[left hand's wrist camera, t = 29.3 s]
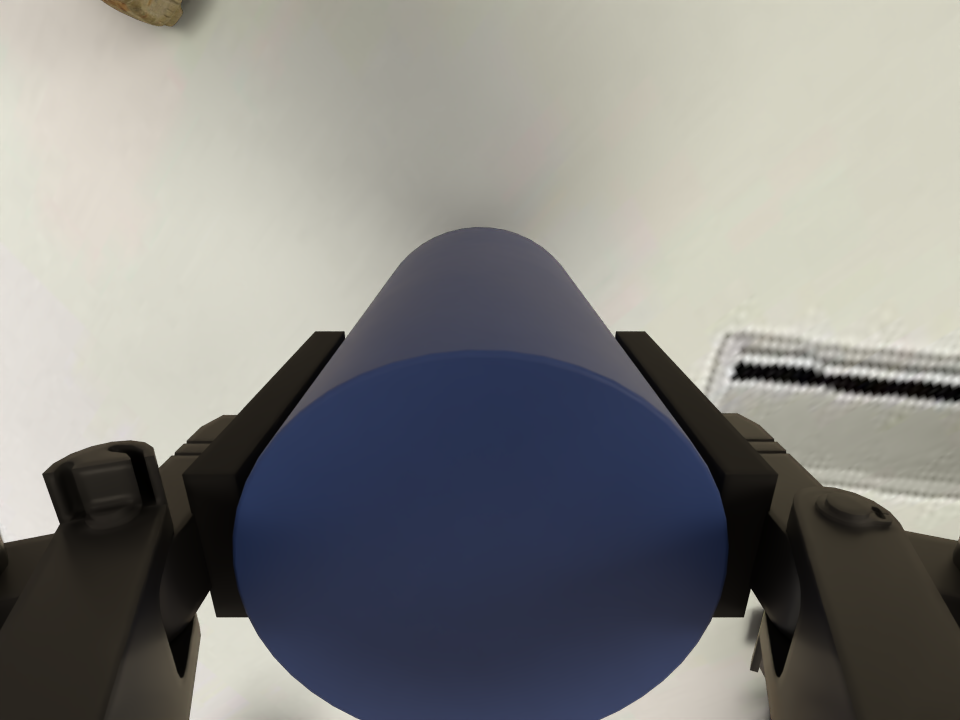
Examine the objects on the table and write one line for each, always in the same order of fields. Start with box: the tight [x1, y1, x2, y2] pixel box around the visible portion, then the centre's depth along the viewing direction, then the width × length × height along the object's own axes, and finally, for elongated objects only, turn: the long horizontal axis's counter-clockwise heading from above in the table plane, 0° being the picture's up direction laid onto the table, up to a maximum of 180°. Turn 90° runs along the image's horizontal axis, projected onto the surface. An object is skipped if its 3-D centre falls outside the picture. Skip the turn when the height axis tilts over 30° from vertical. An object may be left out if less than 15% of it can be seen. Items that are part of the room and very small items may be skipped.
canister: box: [233, 227, 729, 720], centre depth 13 cm, size 7×7×12 cm
